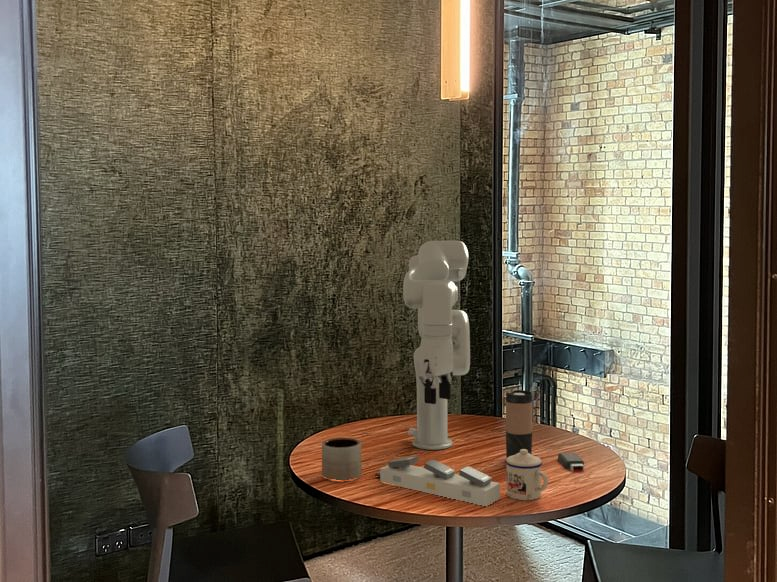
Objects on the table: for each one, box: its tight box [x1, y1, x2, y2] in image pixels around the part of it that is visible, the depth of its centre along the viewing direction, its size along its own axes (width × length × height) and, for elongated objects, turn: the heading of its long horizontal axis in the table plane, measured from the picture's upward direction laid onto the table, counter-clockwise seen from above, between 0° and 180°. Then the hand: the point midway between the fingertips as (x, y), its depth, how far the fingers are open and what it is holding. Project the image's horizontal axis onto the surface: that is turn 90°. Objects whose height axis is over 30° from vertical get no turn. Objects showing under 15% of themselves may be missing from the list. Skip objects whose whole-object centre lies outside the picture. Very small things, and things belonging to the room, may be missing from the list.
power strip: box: [374, 464, 501, 508], centre depth 199 cm, size 36×7×5 cm, turn 54°
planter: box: [321, 437, 363, 480], centre depth 210 cm, size 11×11×10 cm
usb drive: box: [557, 452, 585, 472], centre depth 219 cm, size 5×12×3 cm, turn 2°
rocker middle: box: [423, 458, 456, 479], centre depth 197 cm, size 7×4×2 cm, turn 54°
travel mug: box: [505, 389, 533, 459], centre depth 223 cm, size 8×8×20 cm
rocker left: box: [387, 455, 419, 468], centre depth 204 cm, size 7×4×2 cm, turn 54°
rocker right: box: [458, 466, 493, 487], centre depth 191 cm, size 7×4×2 cm, turn 54°
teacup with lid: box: [505, 449, 549, 501], centre depth 193 cm, size 12×9×12 cm
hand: (437, 400), depth 196 cm, fingers open, 6 cm apart
